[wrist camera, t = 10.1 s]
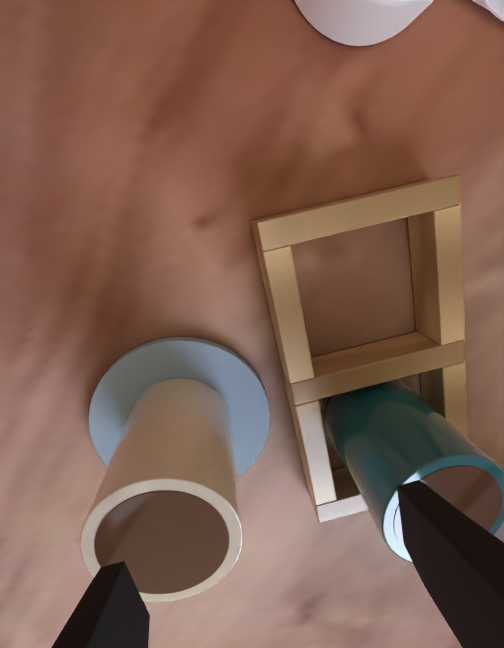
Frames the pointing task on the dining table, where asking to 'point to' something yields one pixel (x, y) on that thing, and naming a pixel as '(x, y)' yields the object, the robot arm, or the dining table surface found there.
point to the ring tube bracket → (370, 17)
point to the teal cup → (410, 457)
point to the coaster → (187, 363)
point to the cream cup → (169, 495)
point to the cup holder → (379, 357)
